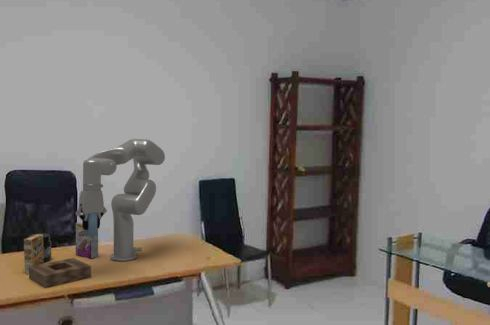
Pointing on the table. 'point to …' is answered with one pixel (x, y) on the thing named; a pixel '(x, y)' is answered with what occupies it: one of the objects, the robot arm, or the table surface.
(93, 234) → the peg
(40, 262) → the candy box
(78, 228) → the candy bar box
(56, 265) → the peg block
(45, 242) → the supplement container
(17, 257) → the table surface
